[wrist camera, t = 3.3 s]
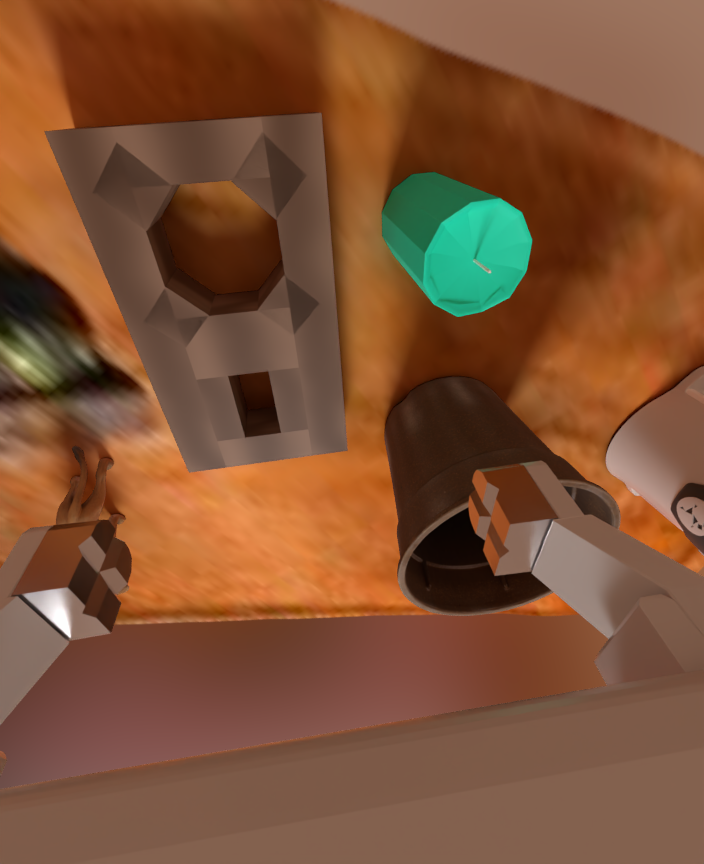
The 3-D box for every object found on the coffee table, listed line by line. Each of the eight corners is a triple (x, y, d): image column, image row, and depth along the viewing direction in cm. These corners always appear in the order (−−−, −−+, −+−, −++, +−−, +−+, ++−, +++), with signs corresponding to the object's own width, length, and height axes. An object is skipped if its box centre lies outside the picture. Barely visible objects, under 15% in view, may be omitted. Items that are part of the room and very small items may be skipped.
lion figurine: (147, 540, 46) (125, 617, 39) (96, 544, 45) (64, 624, 38) (107, 440, 37) (68, 517, 30) (42, 443, 36) (-13, 523, 29)
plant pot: (378, 497, 47) (415, 636, 35) (343, 384, 37) (379, 525, 25) (514, 459, 47) (601, 586, 34) (517, 334, 36) (644, 451, 24)
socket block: (315, 112, 25) (321, 113, 22) (341, 423, 40) (347, 450, 37) (74, 128, 23) (44, 131, 20) (195, 443, 39) (189, 472, 35)
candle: (370, 191, 28) (419, 233, 18) (454, 156, 27) (548, 181, 18) (392, 275, 32) (442, 345, 22) (467, 245, 31) (549, 304, 22)
